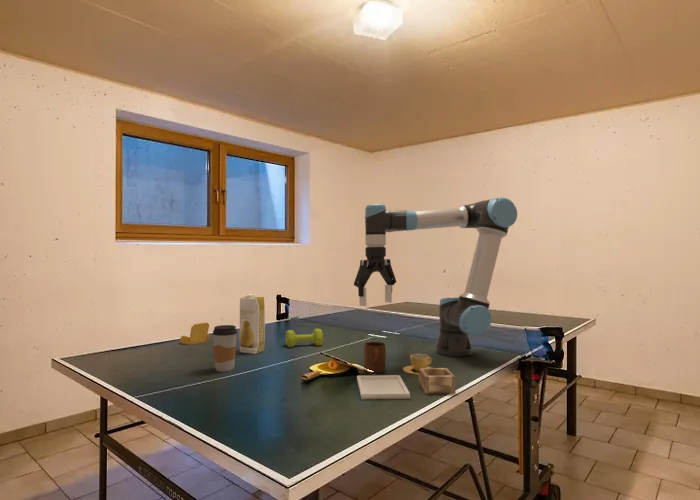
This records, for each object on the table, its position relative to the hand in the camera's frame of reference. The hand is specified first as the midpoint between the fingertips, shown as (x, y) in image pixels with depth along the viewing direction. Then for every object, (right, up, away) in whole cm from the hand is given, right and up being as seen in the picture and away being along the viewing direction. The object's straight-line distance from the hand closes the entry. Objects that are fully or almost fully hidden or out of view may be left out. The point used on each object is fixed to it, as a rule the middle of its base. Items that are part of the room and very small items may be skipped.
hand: (376, 304), depth 158 cm
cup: (+15, -23, -6) cm, 28 cm away
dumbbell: (-30, -23, +32) cm, 49 cm away
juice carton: (-50, -23, +20) cm, 59 cm away
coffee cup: (-54, -23, -7) cm, 59 cm away
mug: (-1, -23, -9) cm, 25 cm away
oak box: (+17, -23, -26) cm, 39 cm away
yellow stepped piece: (-81, -23, +37) cm, 92 cm away
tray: (0, -23, -27) cm, 35 cm away
